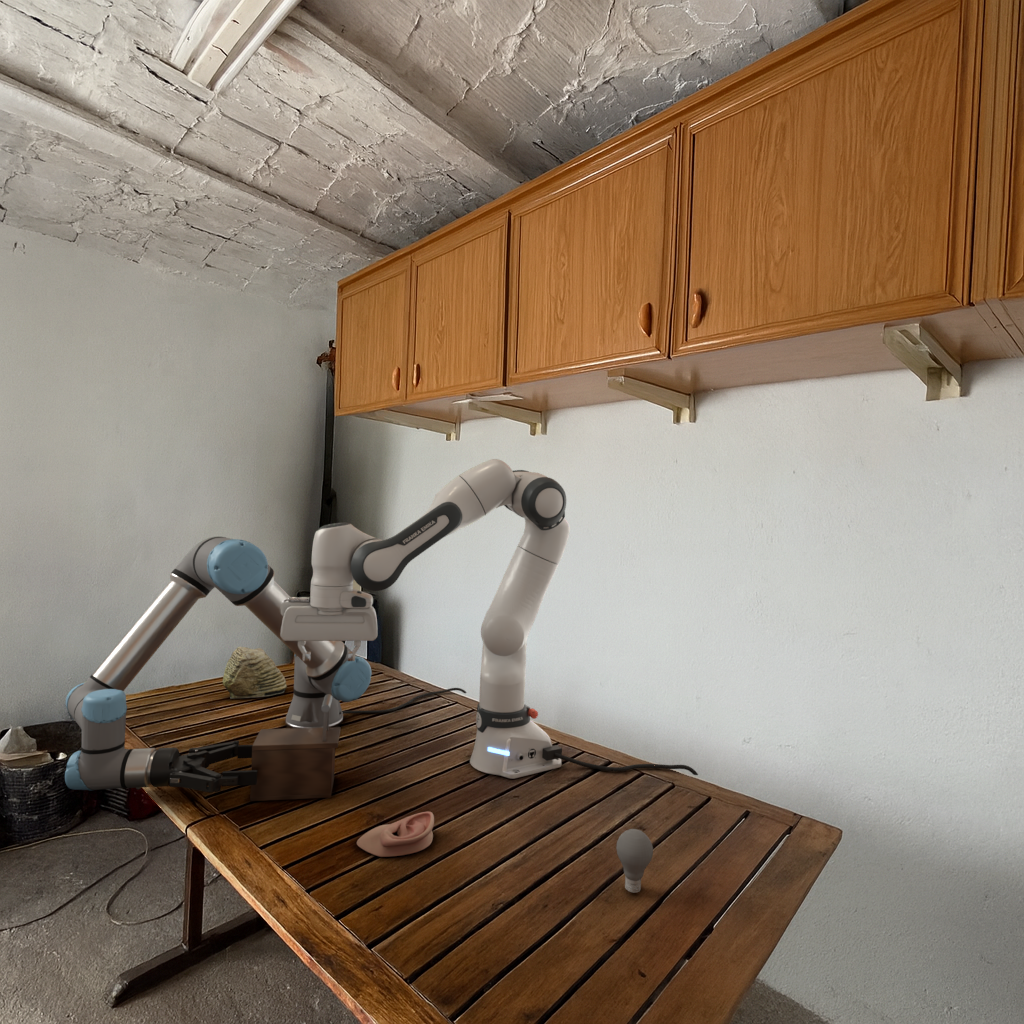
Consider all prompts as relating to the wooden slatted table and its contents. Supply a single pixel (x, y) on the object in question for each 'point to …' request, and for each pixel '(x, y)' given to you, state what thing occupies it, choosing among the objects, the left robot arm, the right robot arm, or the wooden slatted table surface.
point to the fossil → (252, 674)
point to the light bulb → (634, 857)
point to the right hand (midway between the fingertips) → (329, 660)
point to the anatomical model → (399, 836)
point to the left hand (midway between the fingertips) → (263, 763)
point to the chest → (293, 774)
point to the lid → (300, 735)
